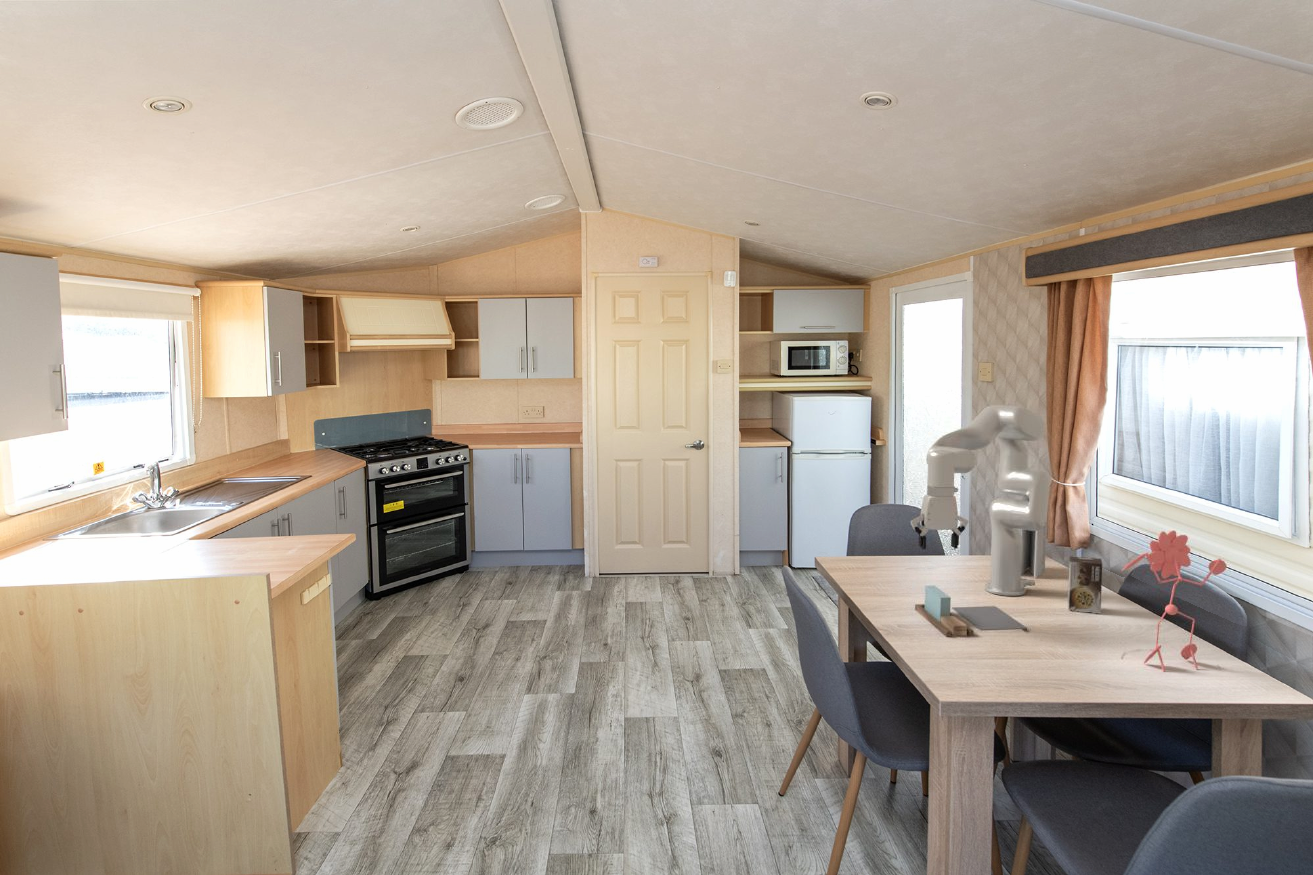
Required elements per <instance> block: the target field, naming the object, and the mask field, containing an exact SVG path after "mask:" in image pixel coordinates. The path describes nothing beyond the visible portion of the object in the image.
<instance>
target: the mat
mask: <svg viewBox="0 0 1313 875" xmlns="http://www.w3.org/2000/svg"><path fill="white" fill-rule="evenodd" d="M951 609H952V610H954V611H955V612H956V613H957V614H959V615H960V616H962V618H964V619H965V620H967V622H969V623H971V625H973V626H974V627H975V628H976V629H978V630H979V631H992V630H993V631H999V630H1001V631H1002V630H1005V631H1006V630H1021V631H1023V632H1028V627H1026V626H1025V625H1024V624H1022V623H1020V622H1019V621H1018V620H1016V619H1015V618H1013V617H1012V616H1011V615H1009V614H1008V613H1006V612H1004V611H1003V610H1002V609H1000V608H999V607H997V606H995V605H991V606H989V605H988V606H985V605H984V606H964V607H963V606H962V607H961V606H957V607H954V606H953V607H951Z"/></svg>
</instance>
